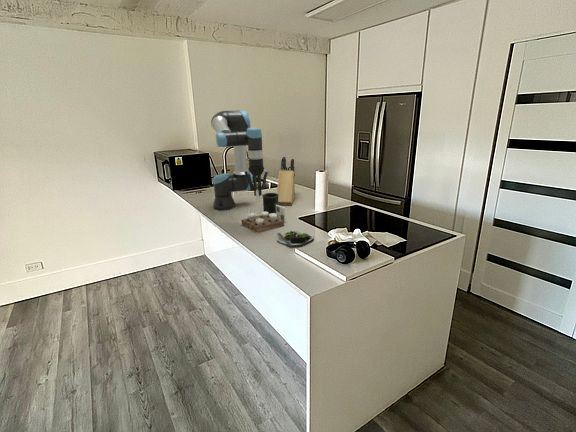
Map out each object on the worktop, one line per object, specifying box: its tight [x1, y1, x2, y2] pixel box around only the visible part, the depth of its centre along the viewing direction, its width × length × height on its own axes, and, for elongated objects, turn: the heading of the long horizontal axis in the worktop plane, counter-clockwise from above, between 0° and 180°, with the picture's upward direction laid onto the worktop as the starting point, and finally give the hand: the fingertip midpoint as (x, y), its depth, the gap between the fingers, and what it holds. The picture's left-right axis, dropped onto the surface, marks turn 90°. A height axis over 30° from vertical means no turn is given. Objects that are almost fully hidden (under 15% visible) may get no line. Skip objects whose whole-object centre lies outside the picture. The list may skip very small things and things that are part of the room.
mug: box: [261, 192, 280, 214], centre depth 206 cm, size 11×15×12 cm
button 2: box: [256, 218, 264, 226], centre depth 176 cm, size 4×4×5 cm
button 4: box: [269, 213, 277, 222], centre depth 181 cm, size 4×4×5 cm
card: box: [276, 205, 287, 223], centre depth 190 cm, size 9×4×9 cm, turn 36°
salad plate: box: [276, 230, 314, 248], centre depth 160 cm, size 19×18×5 cm
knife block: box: [276, 156, 296, 206], centre depth 231 cm, size 11×35×31 cm, turn 173°
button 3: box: [260, 211, 268, 219], centre depth 188 cm, size 4×4×5 cm
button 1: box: [247, 212, 256, 222], centre depth 183 cm, size 4×4×5 cm
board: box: [241, 214, 285, 234], centre depth 183 cm, size 18×18×3 cm
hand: (258, 201), depth 172 cm, fingers closed
